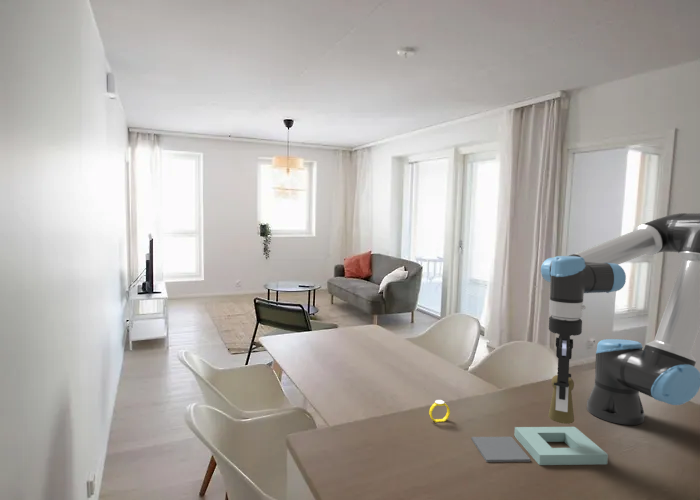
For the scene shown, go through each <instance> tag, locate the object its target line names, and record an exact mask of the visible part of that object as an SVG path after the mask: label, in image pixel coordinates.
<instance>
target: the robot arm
mask: <svg viewBox="0 0 700 500" xmlns="http://www.w3.org/2000/svg"><path fill="white" fill-rule="evenodd" d="M659 253H677V256H678V258H679V259H680V261H681V262H680V266H679V268H678V269H679V270H678V271H677V274H676V277H675V281H674V283H673V286H672V289H671V291H670V295H669V298H668V300H667V302H666V305H665V309H664V310H663V314H662V316H661V320H660V322H659V325H658V328H657V332H656V334H655V337H654V340H651V341H650V342H647V343H645V345H644V347H643V344H642V343H641V342H640V341H637V340H630V339H623V338H622V339H621V338H619V339H618V338H617V339H616V338H607V339H606V338H605V339H602V340H600V341H598V343H597V345H596V346H597V347H596V351H595V370H594V371H595V373H594V375H595V376H594V385H593V388H592V390H591V392H590V395H589V396H588V397H589V398H587V401H586V409H587V412H589V413H590V415H592V416H595V417H596V418H598V419H600V420H604V421H606V422H610V423H613V424H618V425H626V426H627V425H628V426H635V425H636V426H638V425H642V424H644V422H645V410H644V407H643V404H642V400H641V398H640V393H641V394H643V395H646V396H648V397H650V398H653V399H654V400H656V401H658V402H661V403H665V404H668V405H671V406H681V405H684V404H686V403H688V402H690V401H691V400H692V399H694V398H695V396H696V395H697V394H698V392H699V391H700V371H699V369H697V368H696V362H697V360H696V358H695V357H694V355H693V349H694V346H695V343H696V340H697V338H698V334H699V331H700V212H699V213H696V212H695V213H694V212H693V213H687V212H686V213H685V212H684V213H674V214H671V215H666V216H662V217H659V218H656V219H653V220H650V221H647V222H644V223H642V224H640V225H637V226H636V227H634V229H633V231H630V232H628V233H626V234H623V235H621V236H620V235H619V236H617V237H614V238H613V239H609V240H606V241H603V242H601V243H599V244H597V245H594V246H591V247H588V248H586V249H583V250H581V251H578V252H574V253H572V254H570V255H557V256H554V257H548V258H546V259H544V261H543V263H542V264H541V267H540V274H541V277H542V278H543V279H544V280H545V281H546V282H548V283H550V284H549V286H550V288H549V289H550V290H549V291H550V293H549V295H550V297H549V303H548V304H549V306H548V307H549V308H548V314H549V315H550V316H549V318H548V330H549V332H551V333H553V334H558V337H555V347H556V353H555V356H556V358H557V360H558V361H557V368H556V369H557V371H556V375H558V377H557V383H554V385H556V409H555V410H558V411H563V412H567V411H568V389H569V383H568V379H569V377H570V378H572V373H570V360H571V359H572V356H573V353H572V352H573V348H574V339H572V338H571V336H573V337H574V336H579V335H581V334H582V332H583V331H582V330H583V320H582V319H581V318H582V317H583V310H586V306H585V305H583V303H584V295H585V294H592V293H593V294H594V293H597V294H599V293H601V294H602V293H607V294H609V293H613V292H614V293H615V292H618V291H620V290H622V289H623V288H624V286H625V285H626V279H627V278H626V277H627V275H626V272H625V270H624V268H623V267H622V266H621V264H624V263H625V262H626V263H627V262H628V261H632V260H634V259H636V258H639V257H641V256H644V255H647V256H653V255H657V254H659Z"/></svg>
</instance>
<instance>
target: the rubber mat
mask: <svg viewBox="0 0 700 500" xmlns="http://www.w3.org/2000/svg"><path fill="white" fill-rule="evenodd" d="M471 441H472V443H473V444H474V446H475V447H476V448H477V450H478V452H479V453H480V455H481V456H482V458H483V459H484V461H485V462H486V463H522V462H523V463H524V462H525V463H528V462H529V463H530V462H531V460H532V459H531V458H530V457H529V455H528V454H527V453H526V452H525V451H524V449H522V447H520V445H519V444H518V443H517V440H515V439H514V438H513V437H512V436H471Z"/></svg>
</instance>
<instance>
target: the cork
mask: <svg viewBox="0 0 700 500" xmlns="http://www.w3.org/2000/svg"><path fill="white" fill-rule="evenodd" d="M557 377H558V374H556V375H553V376H552V378H551V381H550V382H551V386H552V388H553V389H552V394H551V399H550V405H549V410H548V418H549V419H550V420H551V421H553V422H556V423H559V424H565V425H567V424H569V425H570V424H573V423H574V422H575V415H574V404H573V394H572V391H573V390H574V388H575V382H574V380H573V378H572V377H569V379H568V383H569V389H568V411H567V412H563V411H558V410H555V409H556V385H554V383H557Z"/></svg>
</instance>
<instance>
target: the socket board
mask: <svg viewBox="0 0 700 500" xmlns="http://www.w3.org/2000/svg"><path fill="white" fill-rule="evenodd" d="M514 437H515V438H516V441H518V442H519V444H520V445H522V446H523V448H524V449H525V450H526V451H527V452H528V454H529V455H530V456H531V458H532V459H534V461H535V462H536V463H537V464H538V465H539V466H568V465H569V466H574V465H575V466H577V465H580V466H581V465H582V466H583V465H586V466H587V465H590V466H591V465H608V458H609V454H608V453H607V452H606V451H604V450H603V449H602V447H599V445H597V444H596V443H595V442H594V441H592V439H590V438H589V437H588V436H587V435H585V434H584V433H583V432H582V431H581V430H579V428H577V427H576V426H514ZM548 442H549V443H550V442H551V443H554V442H555V443H556V442H557V443H558V442H559V443H560V442H561V443H562V442H564V443H565V444H566V445H567V446H568V447H552V446H551V445H550V444H549V443H548Z"/></svg>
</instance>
